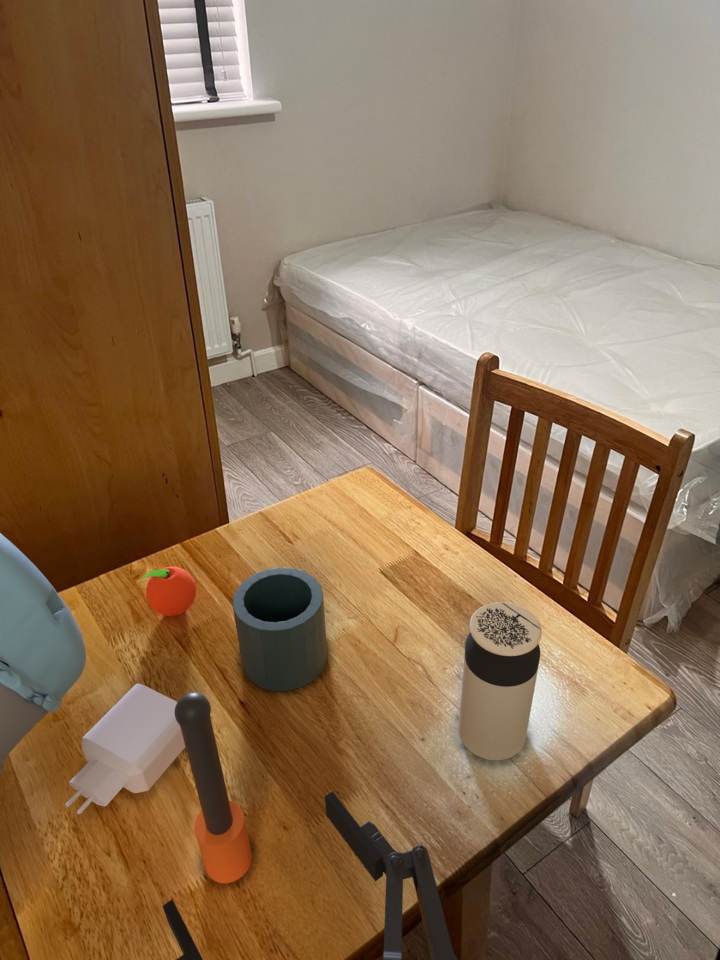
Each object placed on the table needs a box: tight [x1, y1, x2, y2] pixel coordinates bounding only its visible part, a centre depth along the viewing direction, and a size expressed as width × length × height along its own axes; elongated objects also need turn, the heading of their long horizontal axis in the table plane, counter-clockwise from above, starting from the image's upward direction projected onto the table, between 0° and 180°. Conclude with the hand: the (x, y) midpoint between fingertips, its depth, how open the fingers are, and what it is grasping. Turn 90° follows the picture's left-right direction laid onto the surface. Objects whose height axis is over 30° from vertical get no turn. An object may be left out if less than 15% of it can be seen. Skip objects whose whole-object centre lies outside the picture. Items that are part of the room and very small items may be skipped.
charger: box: [64, 682, 186, 815], centre depth 83 cm, size 5×9×15 cm
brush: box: [175, 691, 253, 884], centre depth 68 cm, size 5×5×26 cm
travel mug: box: [457, 601, 543, 761], centre depth 82 cm, size 8×8×18 cm
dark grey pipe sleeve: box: [232, 567, 328, 692], centre depth 94 cm, size 11×11×11 cm
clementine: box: [139, 566, 197, 617], centre depth 103 cm, size 8×7×7 cm
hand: (254, 853), depth 55 cm, fingers open, 13 cm apart
